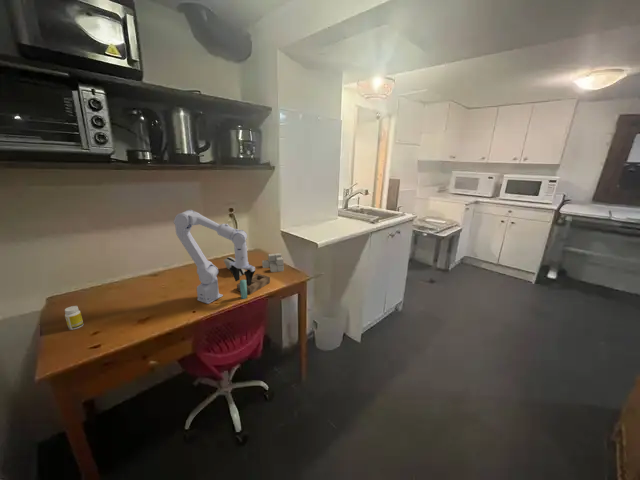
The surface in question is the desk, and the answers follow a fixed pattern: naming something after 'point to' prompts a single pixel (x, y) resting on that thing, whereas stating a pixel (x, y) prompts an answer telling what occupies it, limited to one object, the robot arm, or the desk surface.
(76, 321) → the supplement bottle
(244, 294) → the peg
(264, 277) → the hole block
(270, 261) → the puzzle cube
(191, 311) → the desk surface
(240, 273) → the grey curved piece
